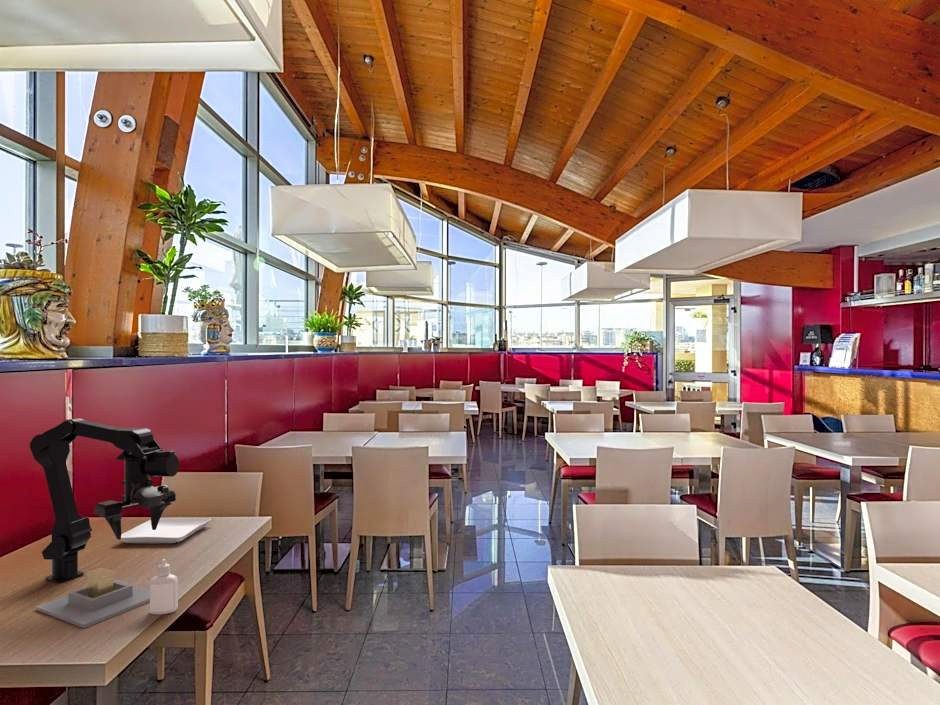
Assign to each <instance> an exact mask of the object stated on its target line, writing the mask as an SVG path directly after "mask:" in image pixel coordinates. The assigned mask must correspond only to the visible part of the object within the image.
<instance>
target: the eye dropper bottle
mask: <svg viewBox="0 0 940 705" xmlns="http://www.w3.org/2000/svg"><path fill="white" fill-rule="evenodd" d="M170 566H171V565H170V563H168V562H167V560H166V558H163V559H161V563H160V564H159V565H158V566H157V575H155V576H153V577H152V578H151V580H150V582H149V589H150V602H149V613H150V614H151V615H166V614H167V615H168V614H173V613H174V612H176V611H177V610H178V608H179V605H178V604H179V601H178V600H179V597H178V595H179V594H178V592H179V590H178V588H179V587H178V586H179V585H178V583H179V582H178V580H179V579H178V577H177V575H174V574H172V573H170V569H171V568H170Z"/></svg>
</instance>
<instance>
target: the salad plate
mask: <svg viewBox="0 0 940 705" xmlns="http://www.w3.org/2000/svg"><path fill="white" fill-rule="evenodd" d="M211 521H212V518H210V517H209V518H208V517H160V520H159V523H158V525H157V528H156V530H152V526H151V519H149V520H147V521H145V522H143V523H141V524H139V525H137V526H135V527H133V528H132V529H129V530H127V531H126V532H124V533H121V539H120V540H119V541H120V542H123V543H125V544H129V543H130V544H175V543H176V542H177V543H180V542H181V541H183V540H185V539H186V538H189V537H190V536H191V535H193V534H195V533H196V532H197V531H199V530H201V529H203V528H204V527H206V526H207V525H208V524H209V523H210V522H211Z"/></svg>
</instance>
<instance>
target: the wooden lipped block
mask: <svg viewBox="0 0 940 705" xmlns="http://www.w3.org/2000/svg"><path fill="white" fill-rule="evenodd" d="M116 572H117V571H116V570H111V569H110V568H109V569H108V568H104V567H102V566H101V567H99V568H96V569H93V570H92V569H91V570H89V571H85V576H86V577H88V579H87V580H88V583H87V584H88V585H87V587H88V597H91V598H96V597H98V596H101V595H104V594H107V593H109V592H112V591H113V580H114V576H115V575H116V574H117V573H116Z"/></svg>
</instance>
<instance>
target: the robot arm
mask: <svg viewBox="0 0 940 705" xmlns="http://www.w3.org/2000/svg"><path fill="white" fill-rule="evenodd" d="M78 437H82V438H87V439H92V440H96V441H100V442H105V443H110V444H112V445H113V446H114V447H115V448H116V449H119V450H121V451H122V452H121V453H120V454H119V455H118V456H117V457H116V458H115V459H116V460H118V461H124V479H123V480H121V485H123V486H124V494H123V495H121V500H122V501H116V500H115V501H114V500H112V499H111V500H106V501H101V502H98V503H96V504H95V506H94V508H93V510H94V511H93V515H96V516H99V517H101V518H104V519H105V520H106V522H107V523H108V525H109V527H110V528H111V530H112V532H113V534H114V535H115V538H116V539H117V540H118V541H120V539H121V534H122V519H123V517H124V514H121V513H122V511H123V510H124V509H129V508H133V507H138V506H140V507H141V508H142V509H149V511H150V512H149V513H150V520H151V526H152V530H156V528H157V525H158V523H159V520H160V518H162V515H163V513H164V510H166V509H167V508H168V507H169V506H171V505H172V502H176V501H177V494H176V492H175V491H174V490H170V489H169V486H168V485H167V484H163V485H159V486H154V481H153V478H150V477H173V478H174V477H175V476H176V475H177V473H178V472H179V469H180V466H181V465H180V460H179V459H178V456H177V455H175V450H170V449H169V450H163V448H161V446H160V445H159V443H158V441H157V440H156V439H155V438H154V435H153V432H152V430H151V429H149V428H147V427H119V426H113V425H110V424H109V425H108V424H105V423H99V422H95V421H91V420H87V419H86V420H85V419H83V418H81V417H78V418H77V417H76V418H71V419H65V421H62V422H61V423H60V424H58V425H56V426H55V427H52V428H50V429H48V430H46V431H44V432H42V433H40V434H37V435H35V436H33V437H32V439H31V441H29V449H30V452H31V454H32V456H33V458H34V460H35V461H36V463H37V464H39V465H40V466H41V467H42V469H43V471H44V475H45V479H46V484H47V489H48V493H49V497H50V502H51V506H52V510H53V515H54V519H55V520H54V523H53V526H52V527H51V531H50V535H51V542H50V543H49V544H47V546H45V548H44V549H43V550H42V551H41V554H42V557H43V560H50V561H51V574H50V575H48V576H45V580H48V581H51V582H54V583H57V584H58V583H62V582H65V581H68V580H71V579H73V578H74V579H75V578H77V577H81V576H83V575H84V574H85V572H83V571H80V570H79V565H78V564H79V554H78V552H80V551H82V550H85V549H86V546H87V543H88V542H89V540H90V539H91V537H92V534H91V532H93V528H92V527H91V524H90V523H91V522H90V519H89V517H88V516H85V517H82V516H81V514H79V512H78V509H77V504H76V501H75V495H74V491H73V488H72V482H71V478H70V475H69V470H68V465H67V460H68V458H69V454H70V452H71V449H70V447H71V446H70V445H71V443H72V442H73V441H75V440H76V439H77V438H78Z"/></svg>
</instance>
